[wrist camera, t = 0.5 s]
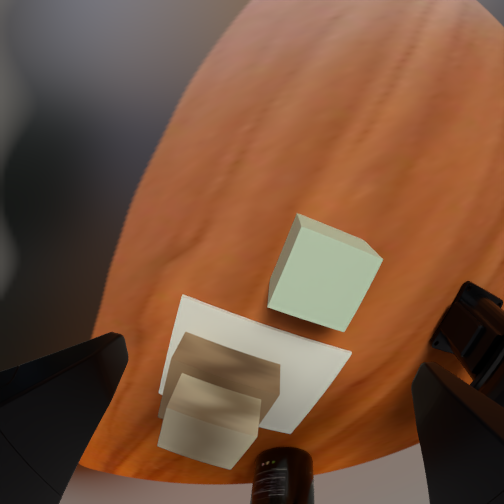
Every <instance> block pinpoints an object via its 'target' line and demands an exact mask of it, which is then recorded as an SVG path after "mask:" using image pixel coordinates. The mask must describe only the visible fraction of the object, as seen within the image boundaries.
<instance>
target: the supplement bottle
mask: <svg viewBox="0 0 504 504" xmlns="http://www.w3.org/2000/svg"><path fill="white" fill-rule="evenodd" d="M250 504H314V481H313V461H312V457H311V456H310V454H308V453H307V452H306V451H304V450H301V449H298V448H291V447H280V448H273V449H269V450H266V451H264V452H262V453H261V454H260V455H259V456H258V457H257V459H256V463H255V470H254V478H253V487H252V494H251V501H250Z"/></svg>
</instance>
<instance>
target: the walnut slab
mask: <svg viewBox="0 0 504 504" xmlns="http://www.w3.org/2000/svg"><path fill="white" fill-rule="evenodd" d="M182 373H184V374H186V375H189V376H191V377H194V378H197V379H199V380H202V381H205V382H208V383H210V384H213V385H216V386H219V387H222V388H225V389H228V390H231V391H234V392H238V393H241V394H244V395H247V396H251V397H254V398H258V399H261V409H260V418H259V424H260V423H261V421H262V420H263V419H264V417H265V416H266V414H267V413H268V411H269V410H270V409H271V407H272V406H273V404H274V403H275V401H276V400H277V398H278V397H279V395H280V364H277V363H274V362H271V361H267V360H264V359H261V358H258V357H255V356H252V355H249V354H246V353H243V352H240V351H237V350H234V349H231V348H228V347H226V346H223V345H220V344H217V343H214V342H212V341H209V340H206V339H204V338H201V337H199V336H196V335H193V334H191V333H188V332H185V333H184V335H183V337H182V339H181V341H180V343H179V345H178V346H177V348H176V350H175V352H174V354H173V356H172V358H171V361H170V365H169V369H168V374H167V378H166V382H165V386H164V391H163V395H162V399H161V404H160V408H159V413H158V417H159V418H161V419H164V416H165V412H166V408H167V405H168V403H169V401H170V399H171V396H172V394H173V392H174V390H175V387H176V385H177V383H178V381H179V378H180V376H181V374H182Z"/></svg>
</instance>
